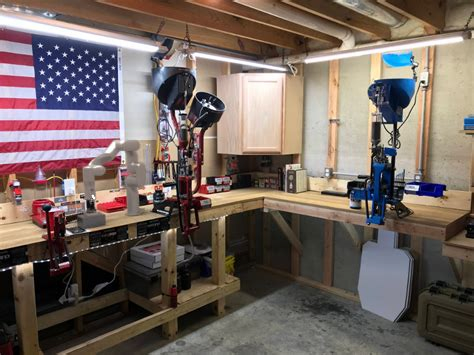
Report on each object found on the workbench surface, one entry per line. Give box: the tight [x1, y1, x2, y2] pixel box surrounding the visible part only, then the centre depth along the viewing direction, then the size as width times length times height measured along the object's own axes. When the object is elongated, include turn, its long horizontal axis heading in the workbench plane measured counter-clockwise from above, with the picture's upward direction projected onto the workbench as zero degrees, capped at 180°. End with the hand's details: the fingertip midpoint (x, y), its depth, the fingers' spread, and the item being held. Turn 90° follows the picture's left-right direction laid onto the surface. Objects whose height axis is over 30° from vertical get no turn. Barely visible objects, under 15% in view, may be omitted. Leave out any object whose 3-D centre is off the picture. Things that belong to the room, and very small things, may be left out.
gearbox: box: [76, 210, 107, 230], centre depth 273 cm, size 16×12×10 cm
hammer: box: [65, 208, 98, 224], centre depth 285 cm, size 5×11×30 cm
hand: (90, 208), depth 272 cm, fingers open, 6 cm apart
